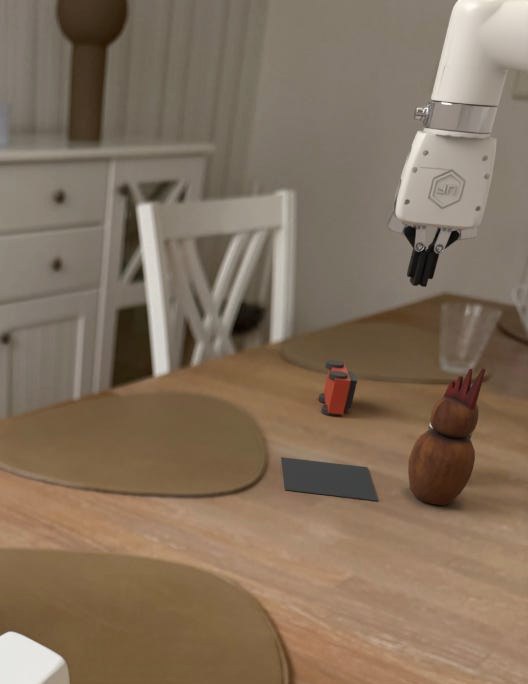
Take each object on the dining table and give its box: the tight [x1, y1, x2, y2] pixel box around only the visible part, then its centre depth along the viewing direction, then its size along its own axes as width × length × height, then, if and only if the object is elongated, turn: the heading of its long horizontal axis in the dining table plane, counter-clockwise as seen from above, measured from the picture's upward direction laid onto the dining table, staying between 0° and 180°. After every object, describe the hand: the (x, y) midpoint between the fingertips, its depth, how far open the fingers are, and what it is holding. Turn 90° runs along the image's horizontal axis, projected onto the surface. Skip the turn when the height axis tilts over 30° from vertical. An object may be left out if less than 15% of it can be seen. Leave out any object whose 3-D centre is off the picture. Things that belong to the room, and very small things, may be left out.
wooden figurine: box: [407, 368, 486, 506], centre depth 104 cm, size 7×6×15 cm
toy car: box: [318, 359, 358, 417], centre depth 132 cm, size 8×4×5 cm, turn 171°
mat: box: [281, 456, 379, 502], centre depth 111 cm, size 10×10×1 cm
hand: (417, 283), depth 124 cm, fingers closed
